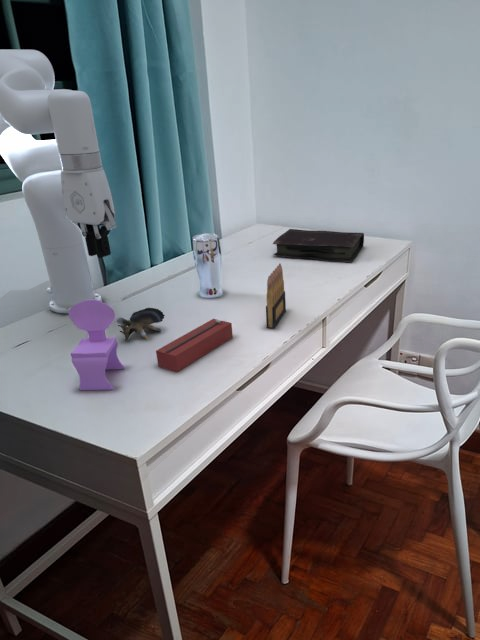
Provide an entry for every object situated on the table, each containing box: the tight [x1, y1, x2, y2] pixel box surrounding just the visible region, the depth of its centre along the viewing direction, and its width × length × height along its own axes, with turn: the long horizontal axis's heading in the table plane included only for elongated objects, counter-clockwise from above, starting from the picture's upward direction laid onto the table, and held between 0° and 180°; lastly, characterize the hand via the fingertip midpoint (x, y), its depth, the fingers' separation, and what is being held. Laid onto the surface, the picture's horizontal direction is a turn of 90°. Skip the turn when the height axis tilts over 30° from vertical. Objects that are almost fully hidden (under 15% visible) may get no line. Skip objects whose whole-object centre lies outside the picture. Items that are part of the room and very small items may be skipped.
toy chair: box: [68, 299, 126, 391], centre depth 99 cm, size 8×9×15 cm
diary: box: [272, 228, 365, 263], centre depth 170 cm, size 19×25×5 cm
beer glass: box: [191, 232, 224, 299], centre depth 137 cm, size 7×7×15 cm
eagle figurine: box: [115, 307, 166, 342], centre depth 118 cm, size 8×7×9 cm
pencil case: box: [155, 318, 234, 373], centre depth 111 cm, size 5×18×4 cm, turn 149°
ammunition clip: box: [265, 262, 287, 330], centre depth 123 cm, size 11×2×12 cm, turn 166°
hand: (99, 254), depth 115 cm, fingers closed
